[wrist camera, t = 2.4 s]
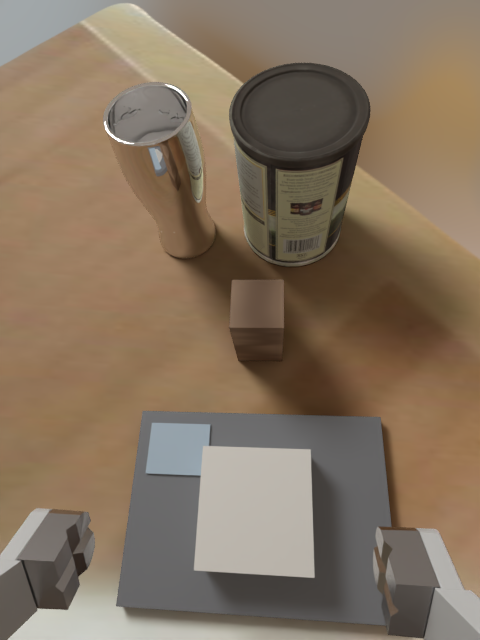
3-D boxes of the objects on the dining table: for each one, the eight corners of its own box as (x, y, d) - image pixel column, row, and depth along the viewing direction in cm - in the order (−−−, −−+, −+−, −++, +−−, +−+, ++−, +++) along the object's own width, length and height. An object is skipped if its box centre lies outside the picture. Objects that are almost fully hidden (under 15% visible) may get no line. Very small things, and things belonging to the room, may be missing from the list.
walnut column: (238, 360, 36) (229, 327, 29) (240, 320, 38) (231, 279, 30) (281, 361, 36) (284, 327, 29) (281, 320, 37) (283, 279, 30)
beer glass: (159, 210, 44) (107, 82, 30) (221, 207, 43) (197, 76, 30) (152, 263, 41) (92, 149, 27) (218, 261, 41) (190, 145, 27)
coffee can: (301, 173, 44) (312, 43, 32) (361, 234, 41) (401, 115, 28) (224, 217, 43) (203, 99, 30) (279, 285, 39) (281, 183, 26)
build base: (121, 602, 29) (99, 618, 26) (146, 413, 35) (131, 403, 31) (397, 622, 28) (416, 642, 24) (377, 419, 33) (390, 410, 29)
